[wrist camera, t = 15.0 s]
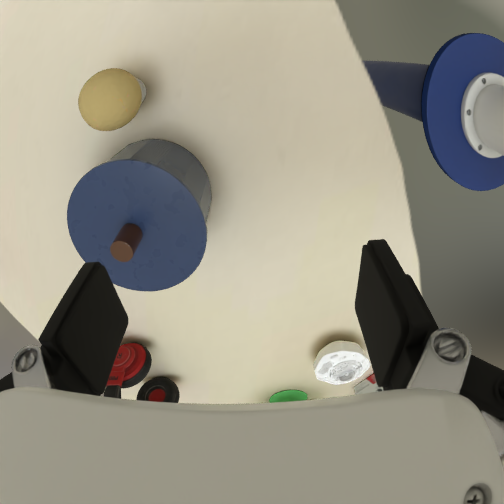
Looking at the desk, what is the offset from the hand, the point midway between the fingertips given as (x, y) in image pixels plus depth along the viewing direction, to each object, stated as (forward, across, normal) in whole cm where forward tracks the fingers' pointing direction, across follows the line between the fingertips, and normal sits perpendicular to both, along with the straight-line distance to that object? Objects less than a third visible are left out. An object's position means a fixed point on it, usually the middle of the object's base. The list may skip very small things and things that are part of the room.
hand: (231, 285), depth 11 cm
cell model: (+28, -13, +42) cm, 52 cm away
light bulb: (+28, +13, -6) cm, 31 cm away
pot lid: (+18, +12, +7) cm, 23 cm away
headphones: (+27, +25, +42) cm, 56 cm away
